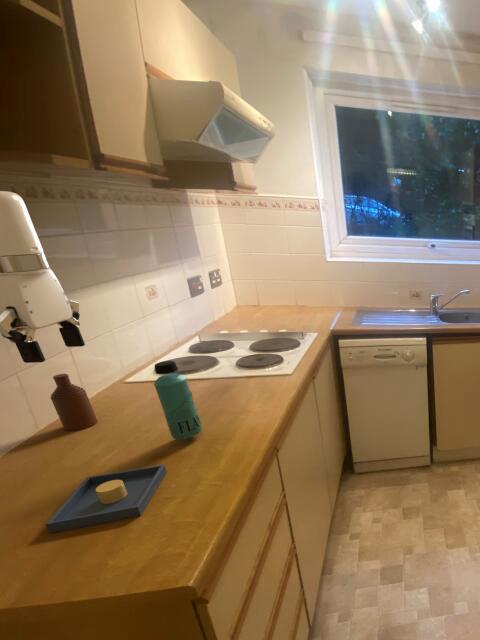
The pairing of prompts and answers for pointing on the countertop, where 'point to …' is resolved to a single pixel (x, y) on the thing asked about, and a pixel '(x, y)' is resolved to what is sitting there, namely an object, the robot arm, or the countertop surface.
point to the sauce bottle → (72, 405)
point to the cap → (111, 491)
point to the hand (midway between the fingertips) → (56, 353)
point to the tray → (90, 510)
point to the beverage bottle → (177, 401)
